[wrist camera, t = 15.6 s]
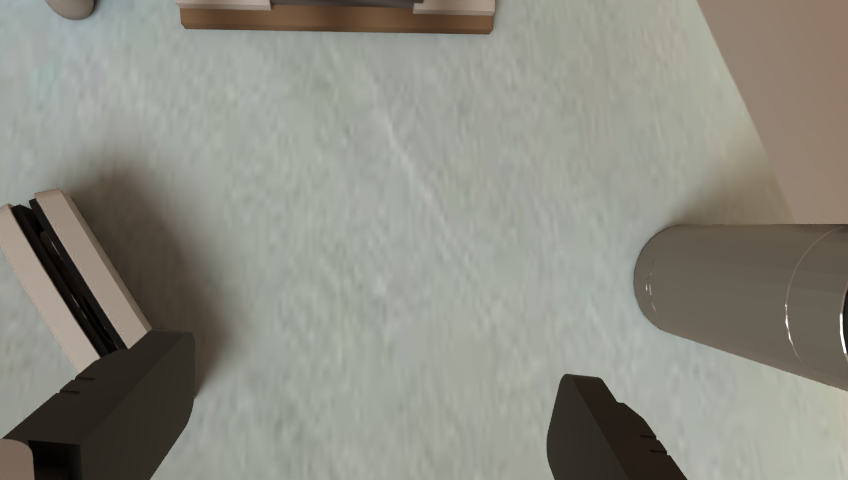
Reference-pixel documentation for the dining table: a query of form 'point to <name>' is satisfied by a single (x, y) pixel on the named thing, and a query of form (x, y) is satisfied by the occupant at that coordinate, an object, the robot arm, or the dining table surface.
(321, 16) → the base
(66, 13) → the chubby cartoon animal
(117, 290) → the white striped curved block
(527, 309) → the dining table surface
